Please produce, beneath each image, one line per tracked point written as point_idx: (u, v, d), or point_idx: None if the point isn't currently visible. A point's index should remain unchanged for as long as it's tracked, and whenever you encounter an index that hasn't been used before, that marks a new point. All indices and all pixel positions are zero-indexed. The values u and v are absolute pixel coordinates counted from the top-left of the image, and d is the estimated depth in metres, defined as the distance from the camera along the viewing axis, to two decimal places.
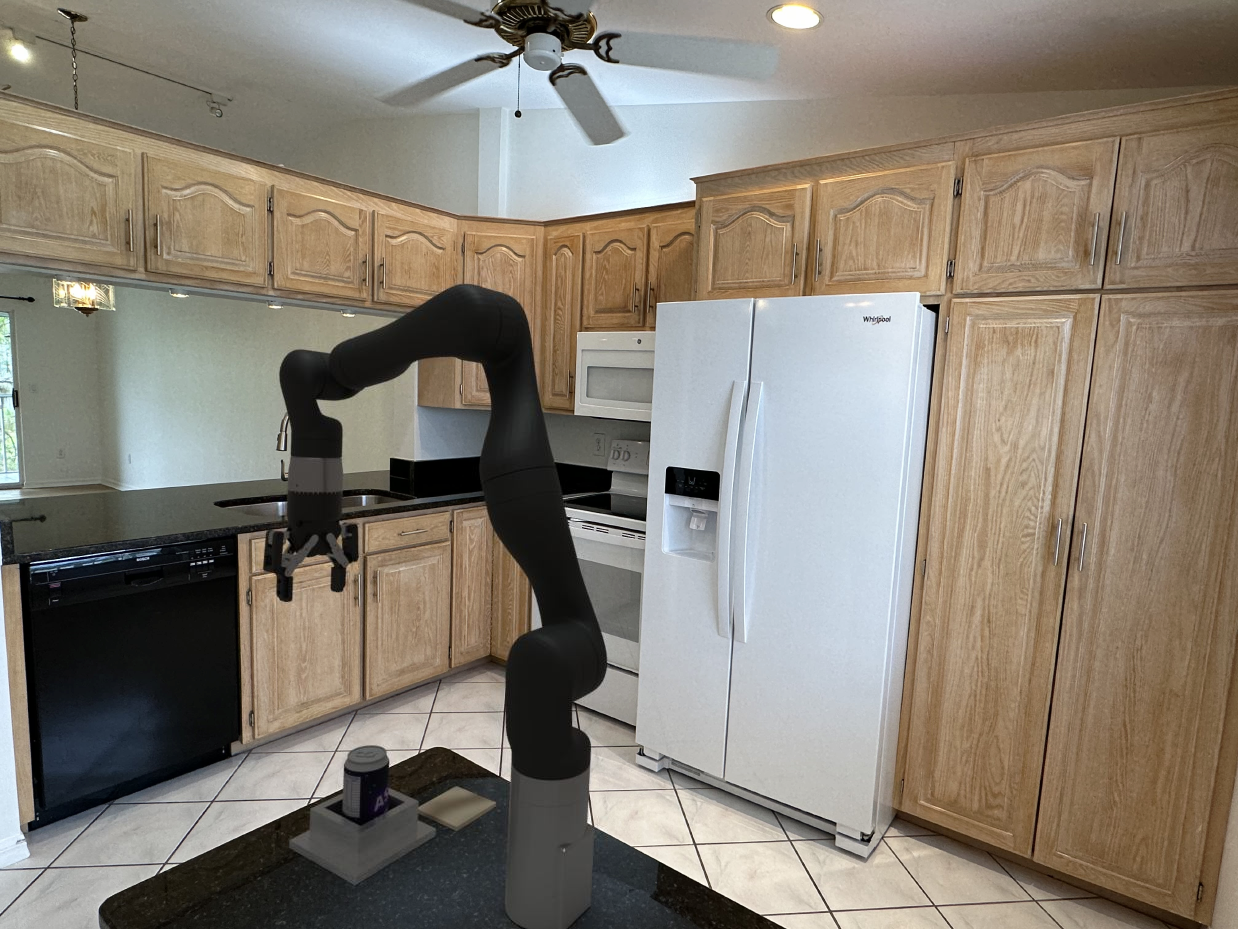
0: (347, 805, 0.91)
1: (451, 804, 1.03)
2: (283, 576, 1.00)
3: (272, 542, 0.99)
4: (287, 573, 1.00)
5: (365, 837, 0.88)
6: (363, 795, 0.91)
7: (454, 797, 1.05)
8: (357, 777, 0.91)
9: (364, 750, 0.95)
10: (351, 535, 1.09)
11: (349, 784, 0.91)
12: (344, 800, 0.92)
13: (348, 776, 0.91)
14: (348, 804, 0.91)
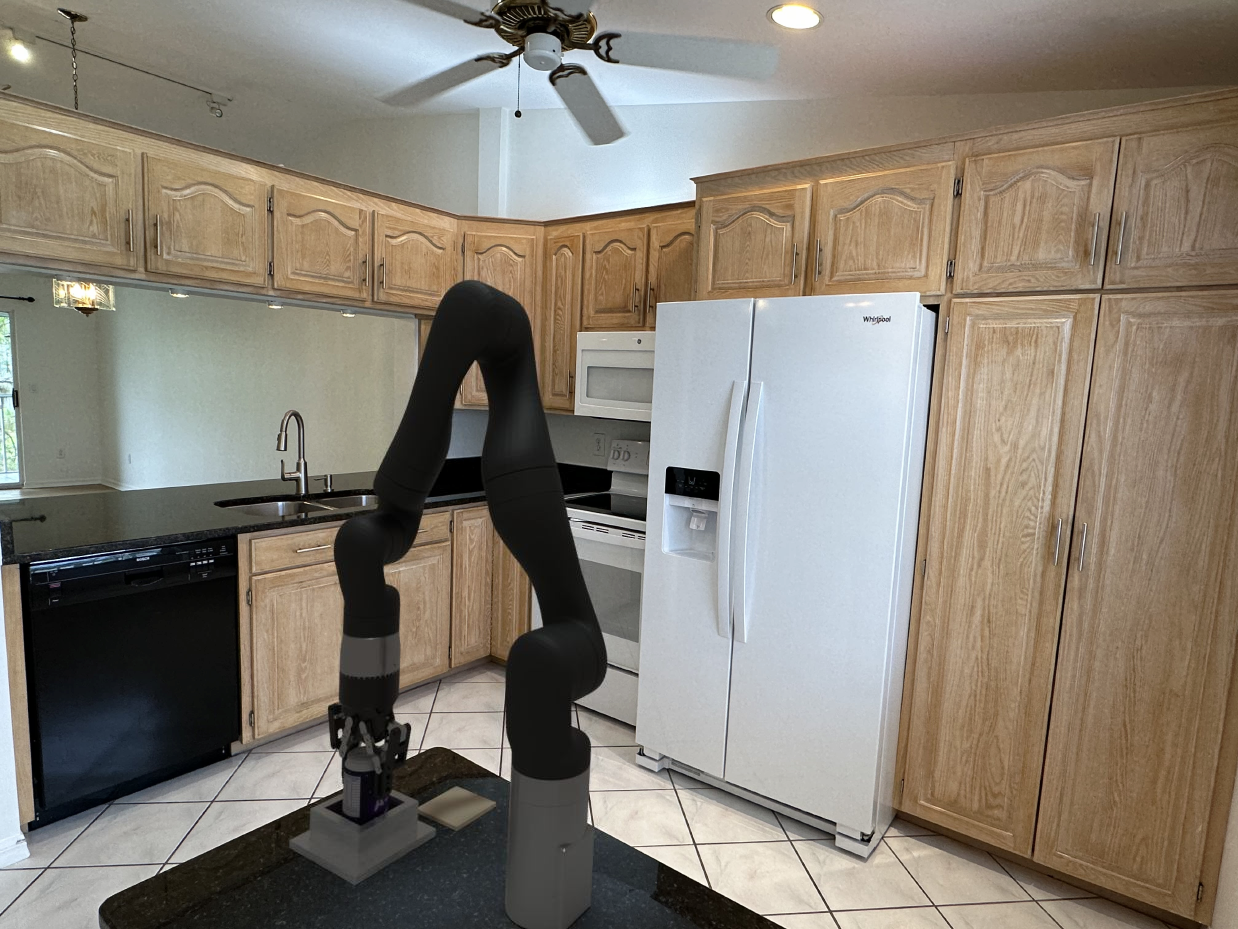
0: (347, 805, 0.91)
1: (451, 804, 1.03)
2: None
3: (405, 738, 0.90)
4: None
5: (365, 837, 0.88)
6: (363, 794, 0.91)
7: (454, 797, 1.05)
8: (357, 777, 0.91)
9: (364, 750, 0.95)
10: None
11: (349, 784, 0.91)
12: (344, 800, 0.92)
13: (348, 776, 0.91)
14: (348, 803, 0.91)
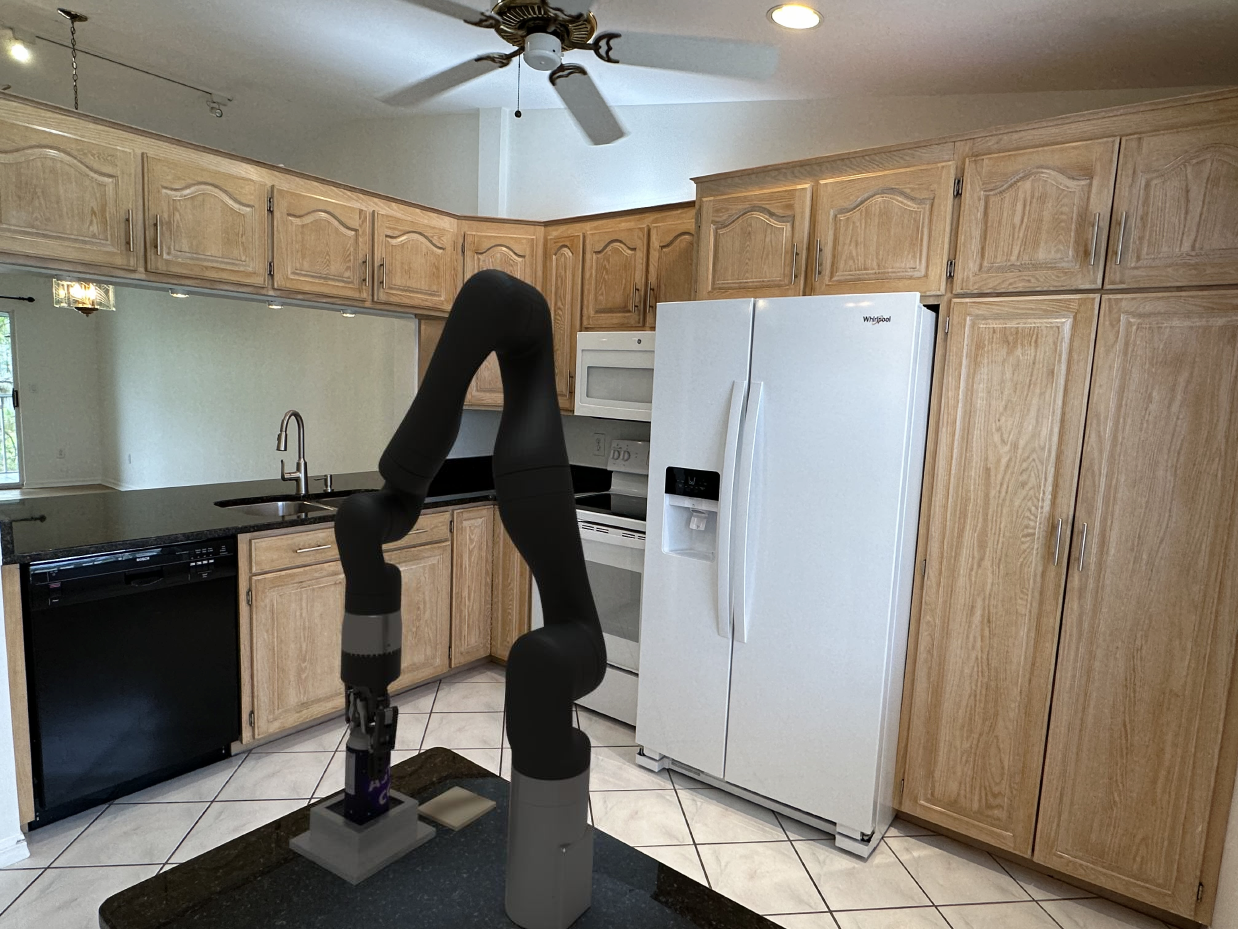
0: (346, 780, 0.92)
1: (451, 804, 1.03)
2: (385, 751, 0.91)
3: (392, 721, 0.89)
4: None
5: (365, 837, 0.88)
6: (358, 772, 0.91)
7: (454, 797, 1.05)
8: (352, 754, 0.91)
9: None
10: None
11: (347, 760, 0.92)
12: None
13: (346, 752, 0.92)
14: (346, 779, 0.92)
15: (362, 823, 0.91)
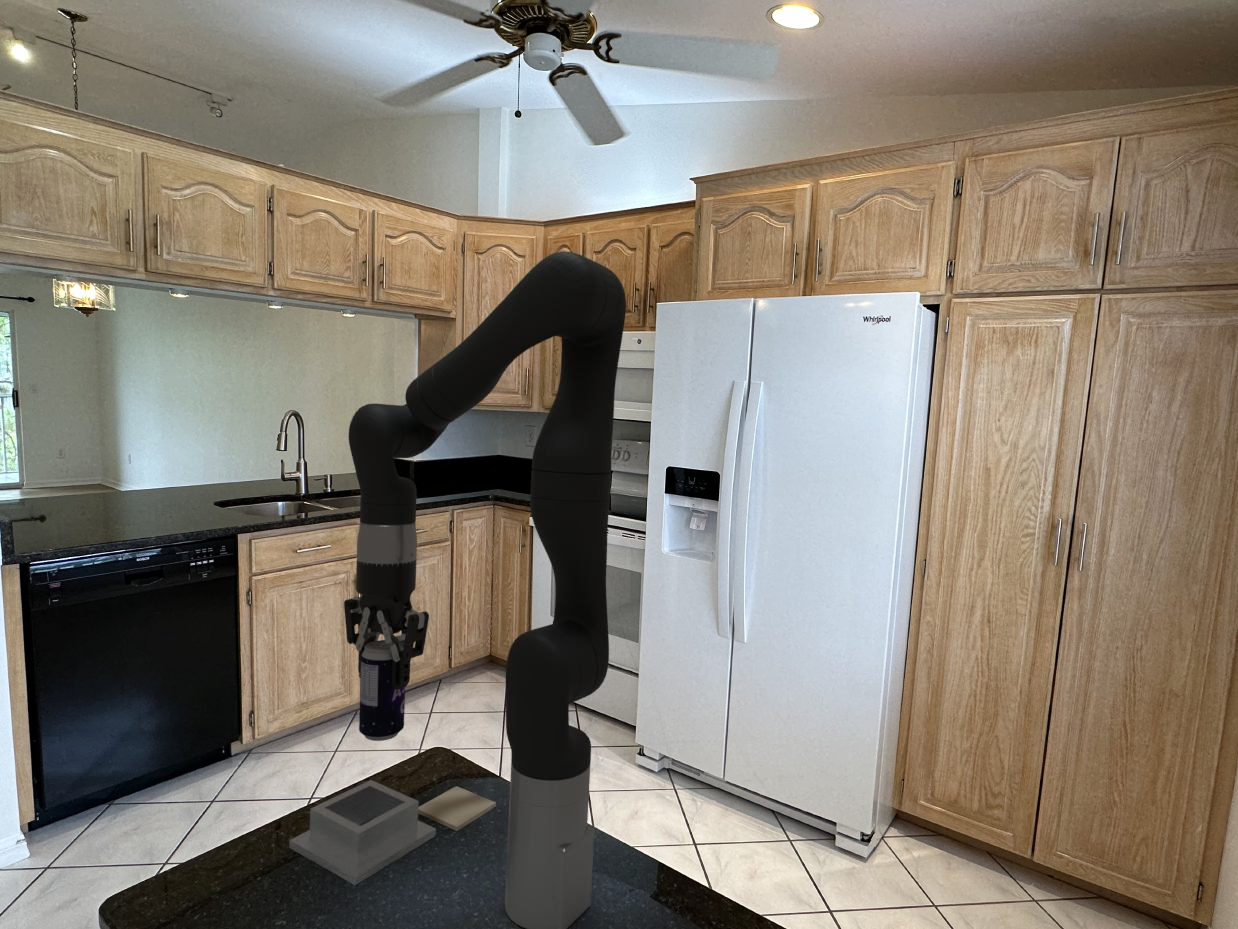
0: (365, 694, 0.92)
1: (451, 804, 1.03)
2: (410, 659, 0.93)
3: (423, 625, 0.91)
4: None
5: (365, 837, 0.88)
6: (381, 683, 0.91)
7: (454, 797, 1.05)
8: (375, 665, 0.91)
9: (381, 643, 0.95)
10: None
11: (367, 673, 0.92)
12: (362, 690, 0.92)
13: (365, 665, 0.92)
14: (366, 693, 0.92)
15: (386, 733, 0.92)
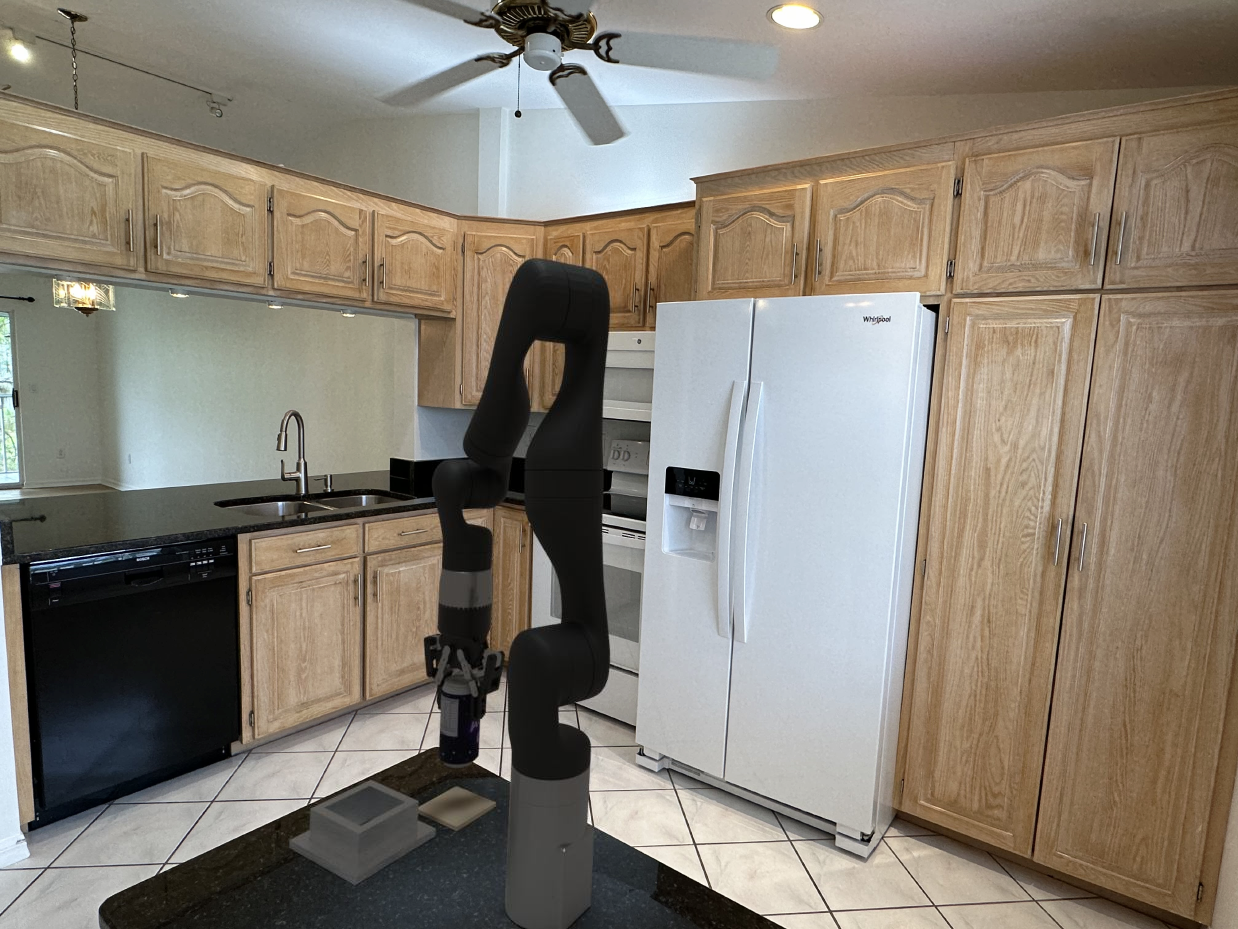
0: (446, 725, 1.00)
1: (451, 804, 1.03)
2: None
3: (500, 664, 0.99)
4: None
5: (365, 837, 0.88)
6: (461, 716, 1.00)
7: (454, 797, 1.05)
8: (455, 699, 0.99)
9: (458, 678, 1.03)
10: None
11: (447, 706, 1.00)
12: (442, 721, 1.01)
13: (446, 699, 1.00)
14: (446, 724, 1.00)
15: (464, 761, 1.00)
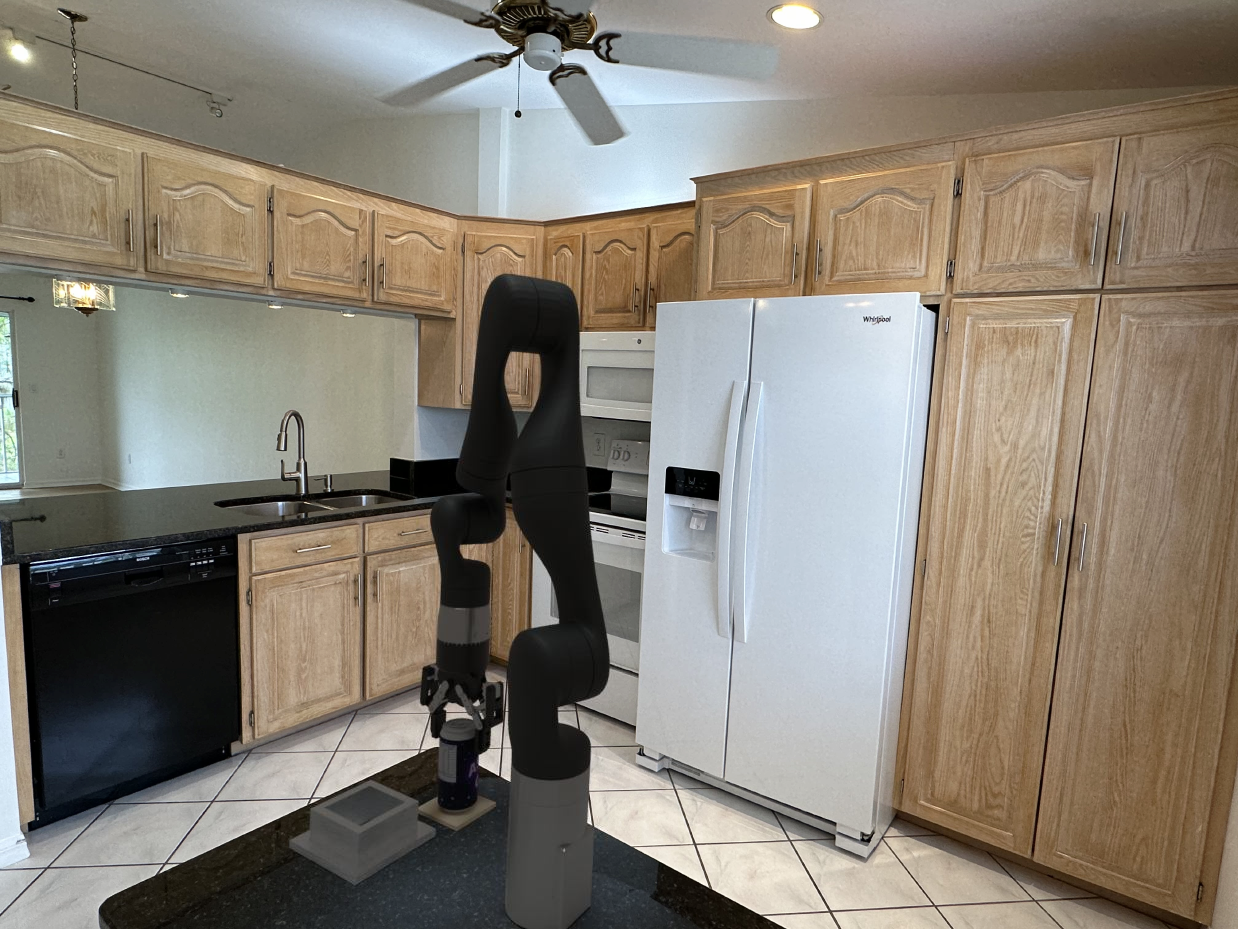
0: (444, 771, 1.00)
1: None
2: None
3: (500, 694, 0.99)
4: None
5: (365, 837, 0.88)
6: (459, 761, 1.00)
7: None
8: (453, 745, 1.00)
9: (456, 722, 1.03)
10: None
11: (446, 752, 1.00)
12: (441, 767, 1.01)
13: (444, 745, 1.00)
14: (445, 770, 1.00)
15: (463, 806, 1.00)
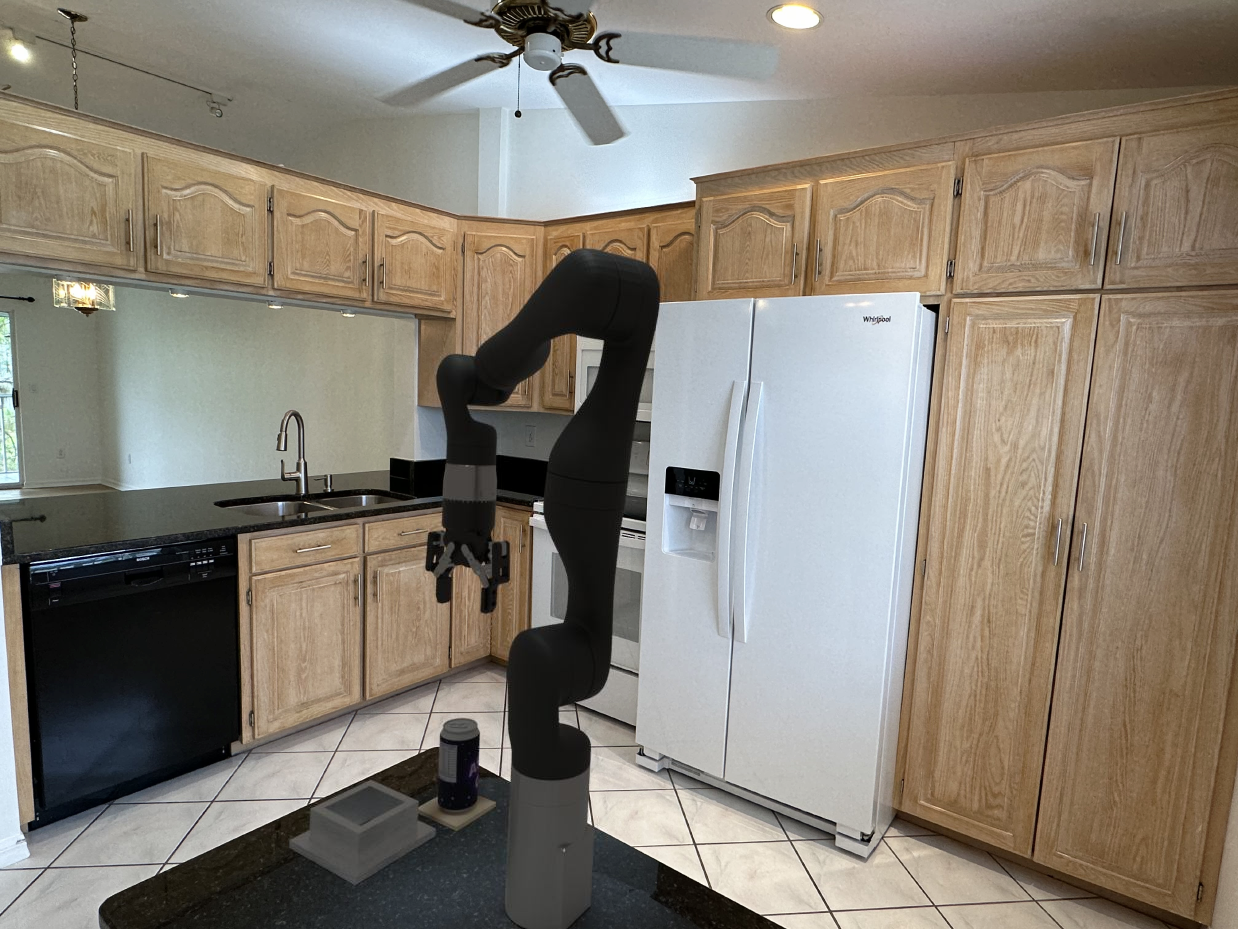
0: (445, 771, 1.00)
1: None
2: (497, 586, 1.00)
3: (506, 552, 0.99)
4: None
5: (365, 837, 0.88)
6: (460, 761, 1.00)
7: None
8: (454, 745, 1.00)
9: (456, 722, 1.04)
10: None
11: (446, 752, 1.00)
12: (441, 767, 1.01)
13: (445, 745, 1.00)
14: (445, 770, 1.00)
15: (463, 807, 1.00)
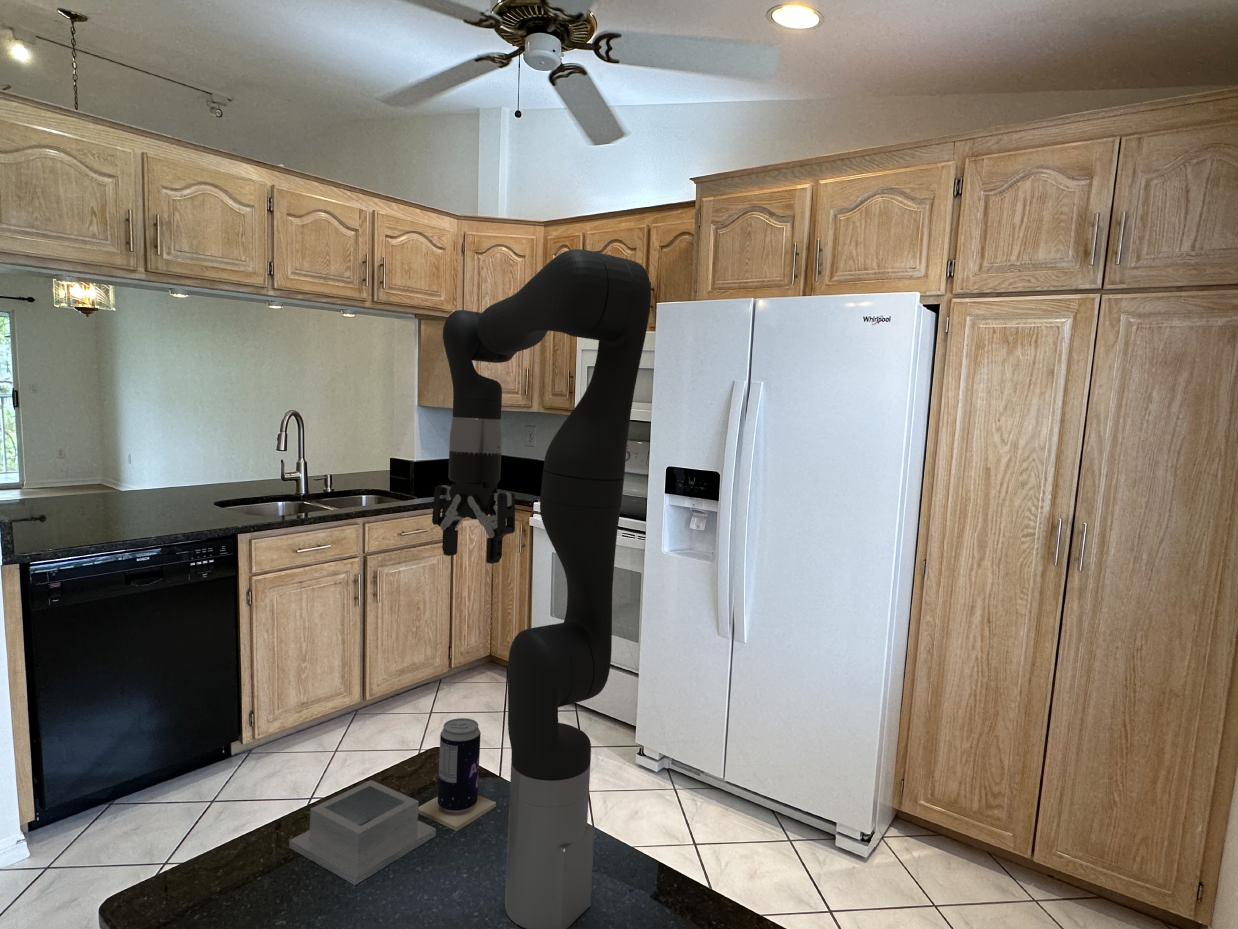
0: (445, 771, 1.00)
1: None
2: (502, 537, 1.03)
3: (511, 503, 1.02)
4: None
5: (365, 837, 0.88)
6: (460, 762, 1.00)
7: None
8: (454, 746, 1.00)
9: (457, 722, 1.03)
10: None
11: (447, 752, 1.00)
12: (441, 767, 1.01)
13: (445, 745, 1.00)
14: (445, 770, 1.00)
15: (463, 807, 1.00)
